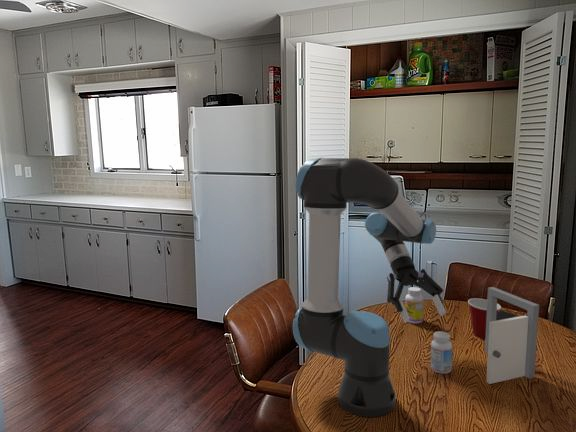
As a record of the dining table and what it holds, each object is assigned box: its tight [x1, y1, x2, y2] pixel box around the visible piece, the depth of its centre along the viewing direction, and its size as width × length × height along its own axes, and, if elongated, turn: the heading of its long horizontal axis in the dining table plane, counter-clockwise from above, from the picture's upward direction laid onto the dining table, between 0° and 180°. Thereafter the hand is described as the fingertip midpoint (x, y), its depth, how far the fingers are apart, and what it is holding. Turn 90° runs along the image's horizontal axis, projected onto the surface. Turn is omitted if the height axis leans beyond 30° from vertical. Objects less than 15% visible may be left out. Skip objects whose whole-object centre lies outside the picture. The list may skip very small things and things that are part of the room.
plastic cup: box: [467, 297, 502, 339], centre depth 157 cm, size 11×11×12 cm
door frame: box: [484, 286, 540, 380], centre depth 135 cm, size 2×18×22 cm, turn 18°
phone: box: [496, 309, 518, 321], centre depth 172 cm, size 8×1×15 cm
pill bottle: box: [430, 331, 453, 374], centre depth 134 cm, size 6×6×11 cm
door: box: [486, 315, 528, 385], centre depth 126 cm, size 13×2×18 cm, turn 108°
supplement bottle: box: [404, 286, 424, 325], centre depth 171 cm, size 7×7×13 cm
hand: (425, 317), depth 142 cm, fingers open, 13 cm apart
